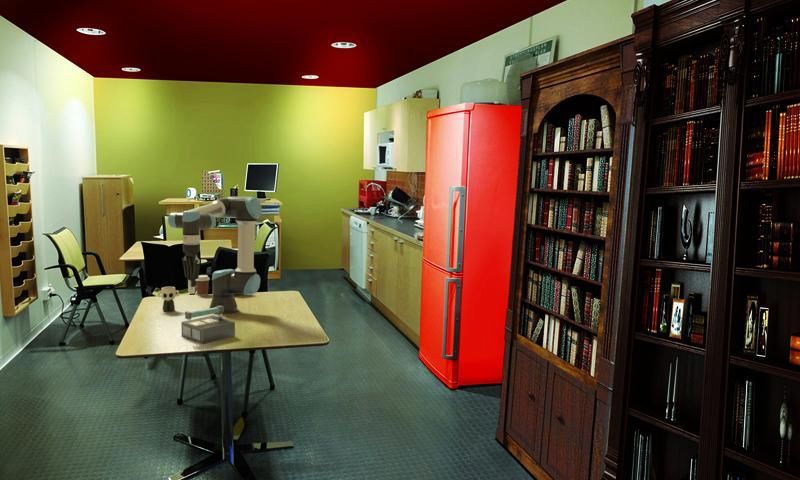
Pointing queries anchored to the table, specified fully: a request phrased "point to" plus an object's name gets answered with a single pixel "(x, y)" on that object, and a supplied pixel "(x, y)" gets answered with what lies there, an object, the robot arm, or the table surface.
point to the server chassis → (208, 329)
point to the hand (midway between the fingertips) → (191, 293)
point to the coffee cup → (202, 285)
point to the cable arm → (204, 312)
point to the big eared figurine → (168, 297)
